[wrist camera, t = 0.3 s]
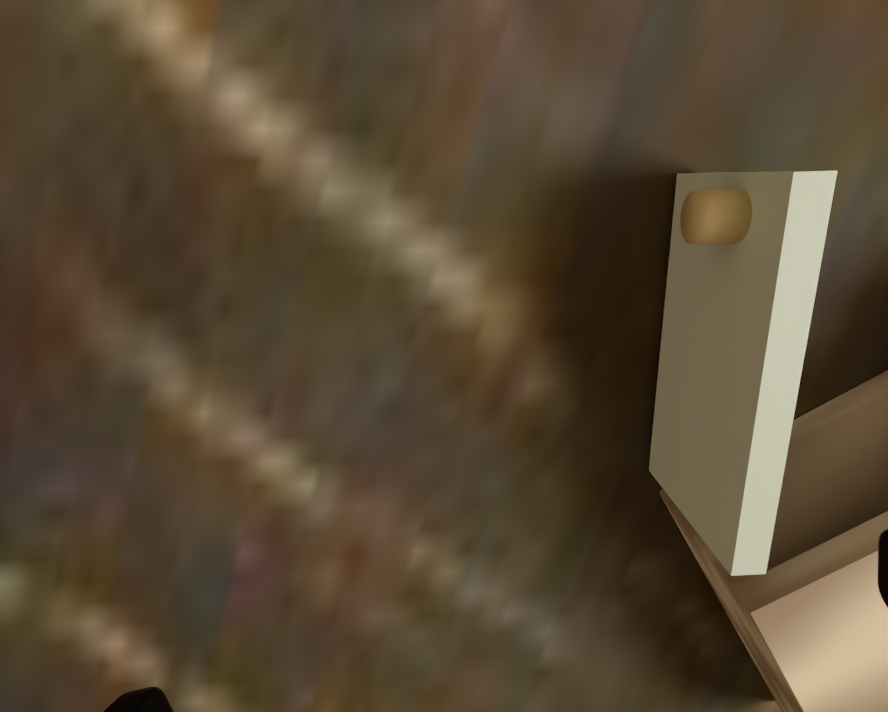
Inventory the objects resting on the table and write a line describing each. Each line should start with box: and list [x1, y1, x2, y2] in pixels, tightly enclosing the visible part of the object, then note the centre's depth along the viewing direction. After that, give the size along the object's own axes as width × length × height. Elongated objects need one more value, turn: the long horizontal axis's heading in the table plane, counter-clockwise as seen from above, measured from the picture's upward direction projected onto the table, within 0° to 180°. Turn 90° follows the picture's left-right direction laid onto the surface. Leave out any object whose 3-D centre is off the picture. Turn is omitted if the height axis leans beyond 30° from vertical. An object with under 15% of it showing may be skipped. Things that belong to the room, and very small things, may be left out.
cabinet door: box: [649, 171, 837, 576], centre depth 17 cm, size 2×11×6 cm, turn 1°
